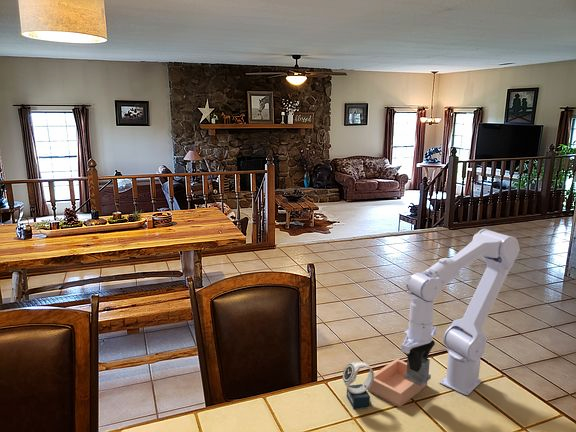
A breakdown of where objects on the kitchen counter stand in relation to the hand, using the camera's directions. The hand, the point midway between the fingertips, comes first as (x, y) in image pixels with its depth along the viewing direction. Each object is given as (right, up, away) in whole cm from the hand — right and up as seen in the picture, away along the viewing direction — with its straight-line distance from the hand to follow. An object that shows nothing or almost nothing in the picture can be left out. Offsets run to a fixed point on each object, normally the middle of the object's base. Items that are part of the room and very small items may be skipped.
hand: (417, 367), depth 117 cm
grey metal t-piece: (0, -3, 0) cm, 3 cm away
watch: (-15, -9, +1) cm, 18 cm away
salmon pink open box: (-3, -8, +6) cm, 11 cm away
